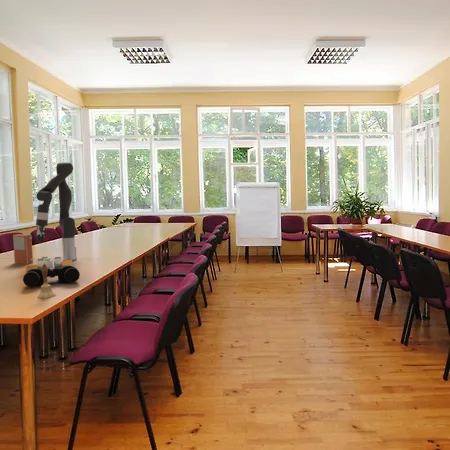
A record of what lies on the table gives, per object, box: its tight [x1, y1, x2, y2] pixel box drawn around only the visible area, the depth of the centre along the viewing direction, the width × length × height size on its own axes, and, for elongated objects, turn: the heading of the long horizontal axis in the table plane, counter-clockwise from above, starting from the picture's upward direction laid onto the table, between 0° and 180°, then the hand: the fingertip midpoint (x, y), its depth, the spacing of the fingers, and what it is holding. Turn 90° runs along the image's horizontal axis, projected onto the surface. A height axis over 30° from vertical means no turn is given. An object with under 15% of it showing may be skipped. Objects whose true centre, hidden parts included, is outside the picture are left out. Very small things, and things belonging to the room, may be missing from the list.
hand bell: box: [37, 264, 56, 299], centre depth 200 cm, size 8×8×16 cm
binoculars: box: [22, 265, 81, 288], centre depth 230 cm, size 29×20×10 cm
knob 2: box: [53, 256, 74, 267], centre depth 276 cm, size 12×5×7 cm, turn 131°
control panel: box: [12, 233, 34, 265], centre depth 304 cm, size 21×7×15 cm
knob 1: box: [24, 258, 45, 272], centre depth 265 cm, size 12×5×7 cm, turn 131°
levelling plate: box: [26, 256, 65, 273], centre depth 273 cm, size 24×17×8 cm
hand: (40, 241), depth 290 cm, fingers open, 8 cm apart
